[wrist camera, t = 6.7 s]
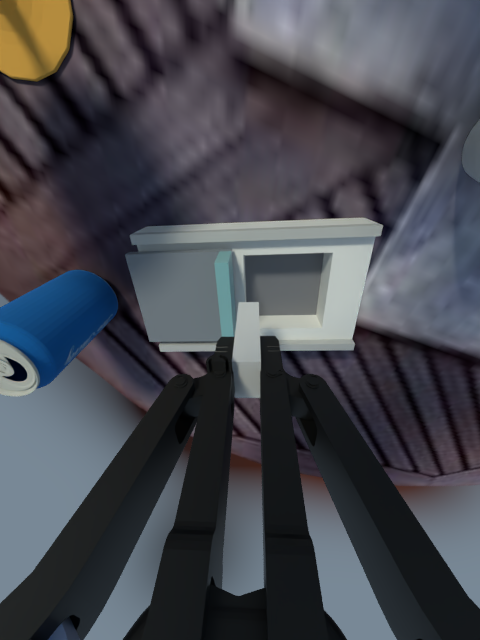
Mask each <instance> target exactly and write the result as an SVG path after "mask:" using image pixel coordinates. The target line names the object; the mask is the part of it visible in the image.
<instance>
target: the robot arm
mask: <svg viewBox="0 0 480 640" xmlns="http://www.w3.org/2000/svg"><path fill="white" fill-rule="evenodd" d="M206 365H207V372H208V373H207V374H206V375H204V376H202V377H199V378H194V379H193V378H192V377H191V376H190V375H187V374H180V375H177V376H175V377H173V378H172V379H171V380H170V381H169V382H168V384H167V385H166V387H165V388H164V389H163V391H162V392H161V394H160V395H159V396H158V398H157V399H156V400H155V402H154V403H153V405H152V406H151V407H150V409H149V410H148V412H147V413H146V414H145V416H144V417H143V419H142V420H141V421H140V423H139V424H138V426H137V427H136V428H135V430H134V431H133V433H132V434H131V436H130V437H129V438H128V440H127V441H126V442H125V444H124V445H123V447H122V448H121V450H120V451H119V452H118V453H117V455H116V456H115V458H114V459H113V460H112V462H111V463H110V465H109V466H108V468H107V469H106V470H105V472H104V473H103V474H102V476H101V477H100V479H99V480H98V481H97V483H96V484H95V486H94V487H93V488H92V490H91V491H90V493H89V494H88V495H87V497H86V498H85V499H84V501H83V502H82V504H81V505H80V506H79V508H78V509H77V511H76V512H75V513H74V515H73V516H72V518H71V519H70V520H69V522H68V523H67V525H66V526H65V527H64V529H63V530H62V532H61V533H60V534H59V536H58V537H57V539H56V540H55V542H54V543H53V544H52V546H51V547H50V548H49V550H48V551H47V552H46V554H45V555H44V557H43V558H42V559H41V561H40V562H39V564H38V565H37V566H36V568H35V569H34V571H33V572H32V573H31V574H30V575H29V576H28V577H27V578H26V579H25V580H24V581H23V582H22V583H21V584H20V585H19V586H18V587H17V588H16V589H15V590H14V591H13V592H12V593H11V594H10V595H9V596H8V597H6V599H4V600H3V601H2V602H1V603H0V640H83V639H84V638H85V637H86V635H87V634H88V632H89V631H90V629H91V628H92V626H93V624H94V623H95V621H96V620H97V618H98V616H99V615H100V613H101V612H102V610H103V608H104V606H105V604H106V603H107V600H108V599H109V597H110V595H111V593H112V591H113V590H114V587H115V586H116V584H117V582H118V580H119V578H120V576H121V574H122V572H123V570H124V568H125V565H126V563H127V561H128V559H129V557H130V555H131V553H132V551H133V549H134V547H135V545H136V543H137V541H138V539H139V537H140V535H141V533H142V531H143V529H144V527H145V525H146V523H147V521H148V519H149V517H150V515H151V513H152V511H153V509H154V507H155V505H156V503H157V501H158V499H159V497H160V495H161V493H162V491H163V489H164V487H165V485H166V483H167V481H168V479H169V477H170V475H171V473H172V471H173V469H174V467H175V465H176V463H177V461H178V459H179V457H180V455H181V453H182V451H183V449H184V447H185V445H186V443H187V441H188V439H189V437H190V435H191V433H192V431H193V429H194V427H195V425H196V428H195V433H194V437H193V442H192V447H191V451H190V456H189V461H188V465H187V469H186V474H185V478H184V483H183V488H182V493H181V497H180V501H179V505H178V510H177V515H176V519H175V523H174V526H173V529H172V530H171V531H170V533H169V534H168V536H167V539H166V542H165V545H164V549H163V553H162V558H161V562H160V566H159V570H158V574H157V579H156V583H155V587H154V591H153V596H152V600H151V604H150V606H149V607H148V608H147V609H146V610H145V611H144V612H143V613H142V614H141V615H140V617H139V618H138V619H137V621H136V622H135V623H134V625H133V626H132V628H131V629H130V630H129V632H128V633H127V635H126V636H125V637H124V638H123V640H347V639H346V637H345V636H344V634H343V633H342V631H341V630H340V628H339V627H338V626H337V624H336V623H335V622H334V620H333V619H332V618H331V617H330V616H329V615H328V614H327V613H326V612H325V611H324V609H323V602H322V596H321V590H320V583H319V578H318V570H317V564H316V557H315V552H314V546H313V542H312V539H311V537H310V535H309V531H308V526H307V519H306V512H305V506H304V498H303V492H302V485H301V478H300V471H299V464H298V457H297V451H296V444H295V437H294V430H293V423H292V417H291V416H294V417H296V419H297V422H298V424H299V426H300V428H301V431H302V433H303V435H304V437H305V440H306V442H307V444H308V446H309V449H310V451H311V453H312V455H313V457H314V460H315V462H316V464H317V466H318V469H319V471H320V473H321V475H322V478H323V480H324V482H325V484H326V487H327V489H328V491H329V493H330V495H331V498H332V500H333V502H334V504H335V507H336V509H337V511H338V513H339V515H340V518H341V520H342V522H343V525H344V527H345V529H346V531H347V534H348V536H349V538H350V540H351V542H352V545H353V547H354V549H355V551H356V554H357V556H358V558H359V560H360V563H361V565H362V567H363V569H364V572H365V574H366V576H367V578H368V580H369V582H370V585H371V587H372V589H373V592H374V594H375V596H376V598H377V600H378V603H379V605H380V607H381V609H382V611H383V613H384V615H385V617H386V619H387V621H388V624H389V626H390V628H391V630H392V631H393V633H394V635H395V637H396V638H397V640H480V609H479V608H478V607H477V605H476V604H474V602H473V601H472V600H471V599H470V598H469V597H468V596H467V594H466V593H465V591H464V590H463V588H462V587H461V585H460V584H459V582H458V581H457V579H456V578H455V576H454V575H453V573H452V572H451V570H450V569H449V567H448V566H447V564H446V562H445V561H444V560H443V558H442V557H441V555H440V554H439V552H438V550H437V549H436V547H435V546H434V545H433V543H432V541H431V540H430V538H429V537H428V535H427V534H426V532H425V531H424V529H423V528H422V526H421V525H420V523H419V522H418V520H417V519H416V517H415V516H414V514H413V513H412V511H411V510H410V508H409V507H408V505H407V504H406V502H405V501H404V499H403V498H402V496H401V495H400V494H399V492H398V490H397V489H396V487H395V486H394V484H393V483H392V481H391V480H390V478H389V477H388V475H387V474H386V472H385V471H384V469H383V468H382V466H381V465H380V463H379V462H378V460H377V459H376V457H375V456H374V454H373V453H372V451H371V449H370V448H369V446H368V445H367V443H366V442H365V440H364V439H363V437H362V436H361V434H360V433H359V431H358V430H357V428H356V427H355V425H354V424H353V422H352V421H351V419H350V418H349V416H348V415H347V413H346V412H345V410H344V409H343V407H342V406H341V404H340V403H339V401H338V400H337V398H336V397H335V395H334V394H333V392H332V391H331V389H330V388H329V386H328V385H327V383H326V382H325V380H324V379H323V378H321V377H320V376H318V375H314V374H306V375H304V376H302V377H301V378H296V377H293V376H290V375H288V374H287V373H286V372H285V371H284V369H283V366H282V359H281V352H280V345H279V340H278V339H277V338H276V336H260V322H259V302H239V303H238V312H237V321H236V330H235V337H220V339H219V340H218V341H217V344H216V349H215V354H214V355H212V356H210V357H209V358H208V359H207V361H206ZM234 396H235V398H260V417H261V462H262V505H263V549H264V588H263V589H260V590H257V591H254V592H251V593H247V594H244V595H242V596H235V595H233V594H231V593H229V592H227V591H224V590H222V573H223V572H222V571H223V565H222V560H223V545H224V531H225V520H226V507H227V494H228V481H229V469H230V468H229V467H230V456H231V443H232V431H233V418H234ZM196 423H197V424H196Z"/></svg>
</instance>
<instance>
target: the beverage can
mask: <svg viewBox="0 0 480 640" xmlns="http://www.w3.org/2000/svg"><path fill="white" fill-rule="evenodd" d="M117 310H118V300H117V297H116V295H115V292H114V291H113V289H112V288H111V287H110V285H109V284H108V283H107V282H106V281H105V280H103V279H102V278H101V277H99V276H97V275H96V274H94V273H91V272H88V271H84V270H71V271H68V272H66V273H64V274H62V275H60V276H58V277H57V278H55V279H53V280H51V281H49V282H47V283H45V284H43V285H42V286H40V287H38V288H36V289H34V290H32V291H30V292H28V293H27V294H25V295H23V296H21V297H19V298H17V299H15V300H13V301H12V302H10V303H8V304H6V305H4V306H2V307H0V394H2V395H8V396H24V395H28V394H30V393H32V392H33V391H34V390H35V389H37V388H41V387H43V386H46V385H47V384H49V383H51V382H52V381H53V380H54V379H55V378H56V377H57V375H59V373H60V372H61V371H62V370H63V369H64V368H65V367H66V366H67V365H68V364H69V363H70V362H71V361H72V360H73V359H74V358H75V357H76V356H77V355H78V354H79V353H80V352H81V351H82V350H83V349H84V348H85V347H86V346H87V345H88V344H89V343H90V341H91V340H92V339H93V338H94V337H95V336H96V335H97V334H98V333H99V332H100V331H101V330H102V329H103V328H104V327H105V326H106V325H107V324H108V323H109V322H110V321H111V320H112V319H113V318H114V316H115V315H116V313H117Z"/></svg>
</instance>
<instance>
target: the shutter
mask: <svg viewBox="0 0 480 640" xmlns="http://www.w3.org/2000/svg"><path fill="white" fill-rule="evenodd" d="M125 257H126V261H127V264H128V268H129V271H130V275H131V278H132V282H133V285H134V288H135V292H136V295H137V299H138V302H139V306H140V309H141V313H142V316H143V320H144V323H145V327H146V330H147V334H148V337H149V341H150V342H186V341H218V340H219V339H220V337H235V330H236V321H237V317H236V300H235V284H234V268H233V252H232V249H203V250H174V251H144V252H128V253H127V254H125Z"/></svg>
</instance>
